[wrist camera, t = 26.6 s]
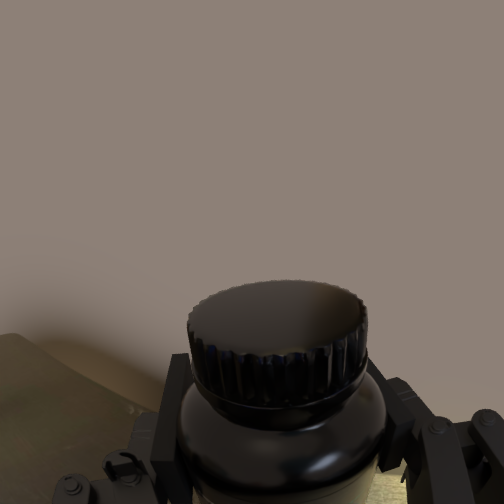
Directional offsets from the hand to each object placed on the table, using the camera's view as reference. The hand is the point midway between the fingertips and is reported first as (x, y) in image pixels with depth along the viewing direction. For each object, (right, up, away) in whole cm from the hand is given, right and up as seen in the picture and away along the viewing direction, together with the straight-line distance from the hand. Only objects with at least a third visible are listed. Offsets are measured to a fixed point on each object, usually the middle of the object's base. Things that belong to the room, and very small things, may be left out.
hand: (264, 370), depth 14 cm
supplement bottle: (+1, -8, -3) cm, 8 cm away
